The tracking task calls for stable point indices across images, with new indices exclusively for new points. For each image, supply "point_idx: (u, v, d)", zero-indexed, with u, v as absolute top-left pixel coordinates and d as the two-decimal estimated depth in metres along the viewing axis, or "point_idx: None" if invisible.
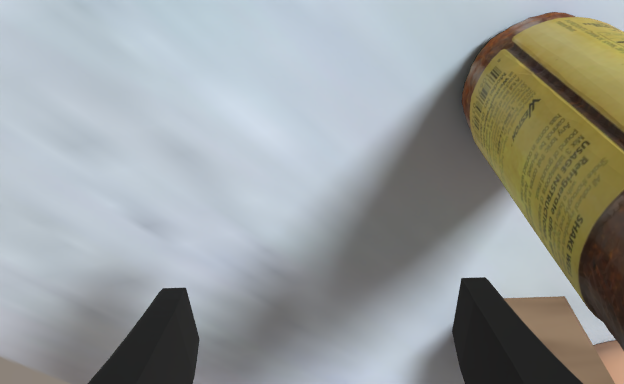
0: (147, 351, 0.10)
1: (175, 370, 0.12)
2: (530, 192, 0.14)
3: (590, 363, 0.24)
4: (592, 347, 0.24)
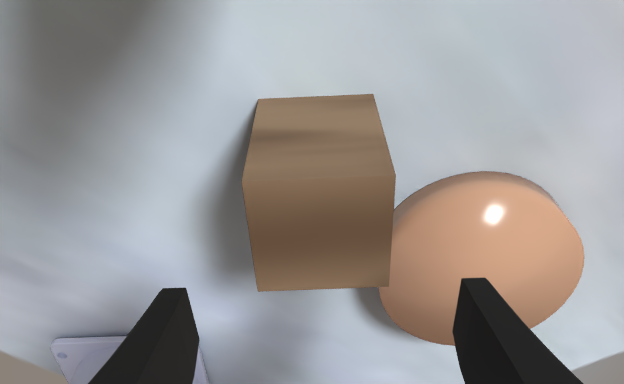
0: (147, 351, 0.10)
1: (175, 370, 0.12)
2: None
3: (368, 148, 0.16)
4: (381, 134, 0.16)
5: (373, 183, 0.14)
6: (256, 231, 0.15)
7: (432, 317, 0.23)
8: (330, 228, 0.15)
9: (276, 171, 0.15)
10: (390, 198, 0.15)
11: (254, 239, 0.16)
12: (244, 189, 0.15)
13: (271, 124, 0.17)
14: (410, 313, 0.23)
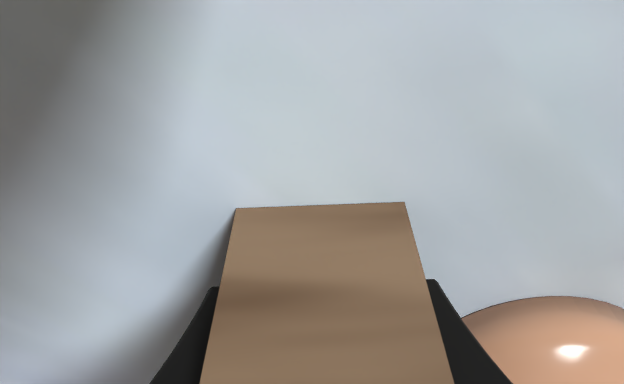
0: None
1: None
2: None
3: (408, 333, 0.10)
4: (426, 297, 0.10)
5: None
6: None
7: None
8: None
9: None
10: None
11: None
12: None
13: (252, 268, 0.11)
14: None
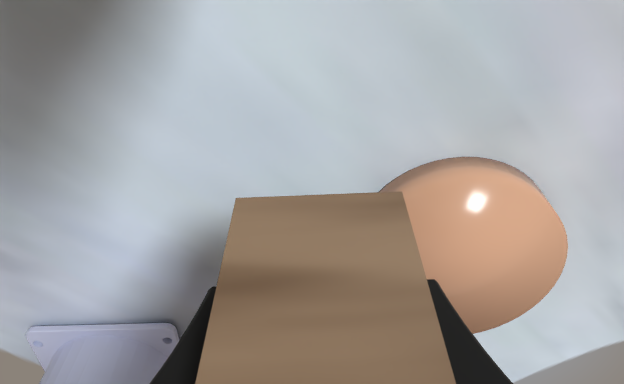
0: None
1: None
2: None
3: (405, 316, 0.10)
4: (423, 282, 0.10)
5: None
6: None
7: None
8: None
9: (252, 371, 0.09)
10: None
11: None
12: None
13: (251, 255, 0.11)
14: None
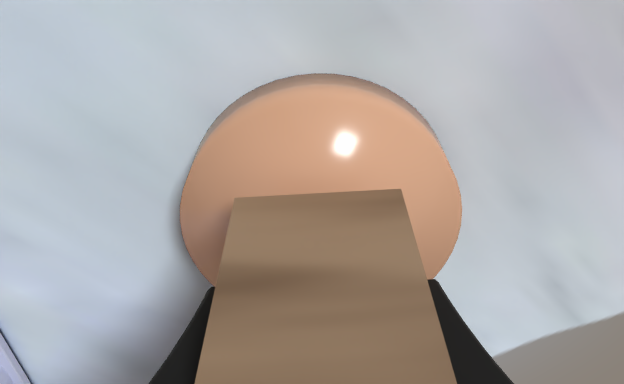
0: None
1: None
2: None
3: (404, 313, 0.10)
4: (422, 278, 0.10)
5: None
6: None
7: None
8: None
9: (251, 370, 0.09)
10: None
11: None
12: None
13: (250, 253, 0.11)
14: None
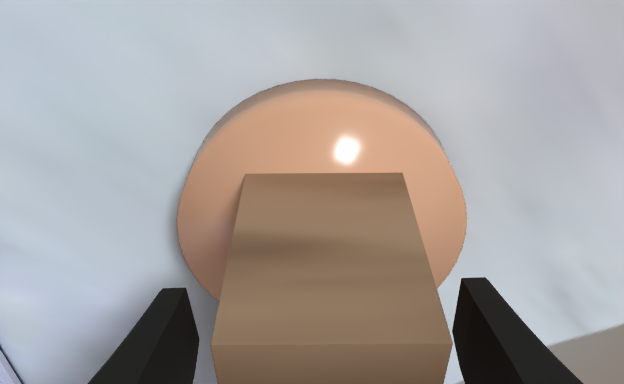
0: (147, 351, 0.10)
1: (175, 370, 0.12)
2: None
3: (405, 280, 0.10)
4: (422, 252, 0.11)
5: (416, 353, 0.09)
6: None
7: None
8: None
9: (265, 324, 0.10)
10: (440, 370, 0.10)
11: None
12: (215, 354, 0.09)
13: (262, 224, 0.12)
14: None
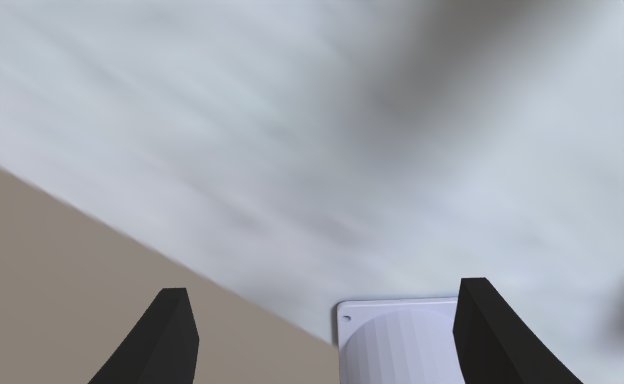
0: (147, 351, 0.10)
1: (175, 370, 0.12)
2: None
3: None
4: None
5: None
6: None
7: None
8: None
9: None
10: None
11: None
12: None
13: None
14: None
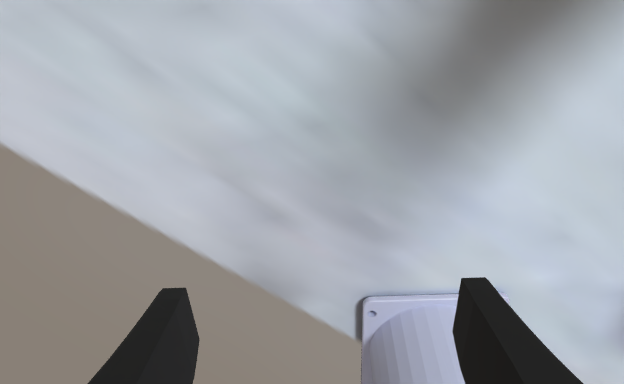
0: (147, 351, 0.10)
1: (175, 370, 0.12)
2: None
3: None
4: None
5: None
6: None
7: None
8: None
9: None
10: None
11: None
12: None
13: None
14: None
